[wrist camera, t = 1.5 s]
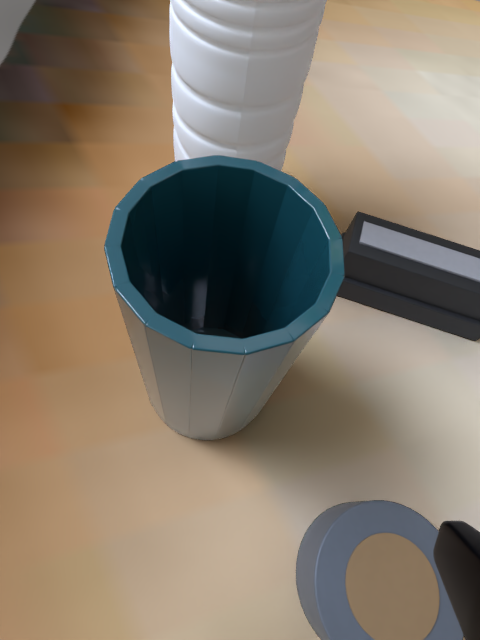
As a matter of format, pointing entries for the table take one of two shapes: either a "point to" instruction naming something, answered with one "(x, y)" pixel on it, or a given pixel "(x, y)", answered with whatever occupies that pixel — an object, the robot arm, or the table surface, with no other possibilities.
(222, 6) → the water bottle
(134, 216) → the pen pot
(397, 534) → the tape roll
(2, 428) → the table surface
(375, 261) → the stapler
